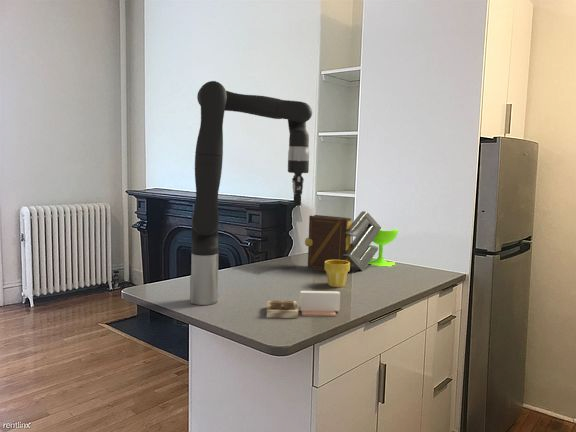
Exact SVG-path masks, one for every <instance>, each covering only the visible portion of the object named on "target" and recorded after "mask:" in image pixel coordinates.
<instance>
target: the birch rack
mask: <svg viewBox="0 0 576 432" xmlns="http://www.w3.org/2000/svg"><path fill="white" fill-rule="evenodd" d="M271 301H272V300H267V301H266V318H272V319H274V318H275V319H276V318H277V319H284V318H285V319H298V318H299V308H298V303H297V301H294V300H293V301H294V310H283V302H284V301H285V300H280V301H281V302H282V304H281V310H271Z"/></svg>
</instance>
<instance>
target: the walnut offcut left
mask: <svg viewBox="0 0 576 432" xmlns="http://www.w3.org/2000/svg"><path fill="white" fill-rule="evenodd" d="M270 301H271V310H281V304H282V302H281V301H282V300H270Z"/></svg>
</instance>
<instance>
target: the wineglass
mask: <svg viewBox="0 0 576 432" xmlns="http://www.w3.org/2000/svg"><path fill="white" fill-rule="evenodd" d="M398 232H399V228H396V230H392V231H382V230H380V231H379V232H378V234H377V235H376V237H375V238H374V239H373V241H372V242H371V243H374V244H376V245H378V257H377V258H372V259H371V261H370V262H369V264H371V265H370V266H372V265H377V266H376V267H381V266H388V267H393V266H392V265H395V263H396V262H395V261H393V262H387V261H385V260H386V259H385V258H384V257H383V256H384V255H383V254H384V253H383V252H384V245H387V244H390V243H392V242H393V241H395V239H396V238H397V236H398ZM375 259H376V260H375ZM395 266H396V265H395Z"/></svg>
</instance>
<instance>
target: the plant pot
mask: <svg viewBox="0 0 576 432" xmlns="http://www.w3.org/2000/svg"><path fill="white" fill-rule="evenodd" d="M325 270H326V271H325V272H326V277H327V282H328V286H329V287H332V288H343V286H344V287H345V286H346V284H347V283H346V282H347V278H348V271H349V272H350V270H351V263H350V262H348V261H345V260H327V261H325Z"/></svg>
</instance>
